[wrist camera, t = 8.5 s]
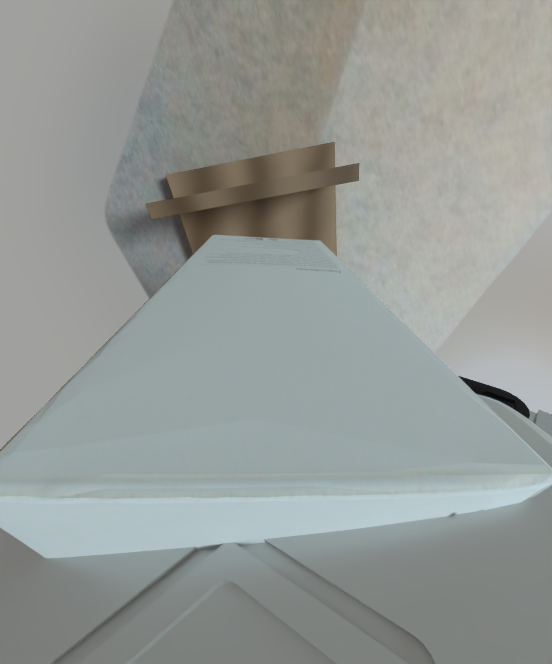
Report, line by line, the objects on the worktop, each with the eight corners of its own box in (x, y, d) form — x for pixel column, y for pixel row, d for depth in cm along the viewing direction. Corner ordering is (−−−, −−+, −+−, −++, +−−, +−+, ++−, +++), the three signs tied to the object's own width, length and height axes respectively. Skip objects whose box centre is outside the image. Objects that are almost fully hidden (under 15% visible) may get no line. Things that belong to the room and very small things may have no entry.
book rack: (331, 144, 25) (360, 125, 18) (334, 296, 35) (354, 327, 27) (170, 175, 26) (131, 170, 18) (217, 315, 36) (204, 350, 28)
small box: (210, 232, 13) (-97, 500, 2) (322, 238, 13) (601, 483, 2) (220, 349, 17) (144, 641, 6) (305, 351, 18) (375, 625, 7)
